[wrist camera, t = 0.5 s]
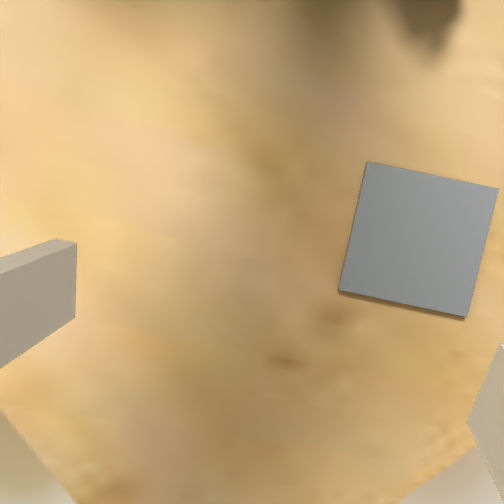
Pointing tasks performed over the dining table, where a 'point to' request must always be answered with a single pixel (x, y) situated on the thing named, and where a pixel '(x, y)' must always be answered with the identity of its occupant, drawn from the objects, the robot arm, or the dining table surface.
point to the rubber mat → (417, 238)
